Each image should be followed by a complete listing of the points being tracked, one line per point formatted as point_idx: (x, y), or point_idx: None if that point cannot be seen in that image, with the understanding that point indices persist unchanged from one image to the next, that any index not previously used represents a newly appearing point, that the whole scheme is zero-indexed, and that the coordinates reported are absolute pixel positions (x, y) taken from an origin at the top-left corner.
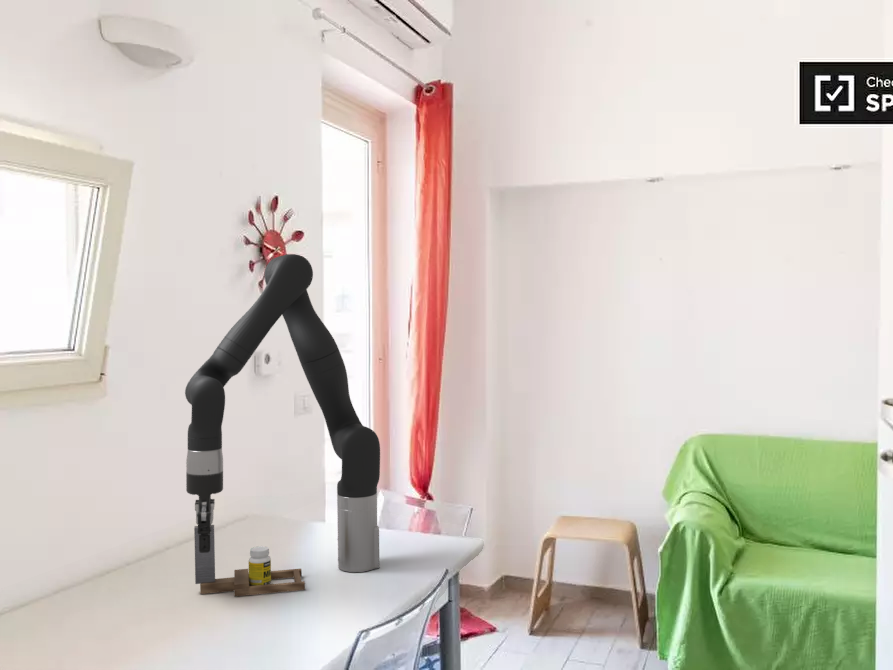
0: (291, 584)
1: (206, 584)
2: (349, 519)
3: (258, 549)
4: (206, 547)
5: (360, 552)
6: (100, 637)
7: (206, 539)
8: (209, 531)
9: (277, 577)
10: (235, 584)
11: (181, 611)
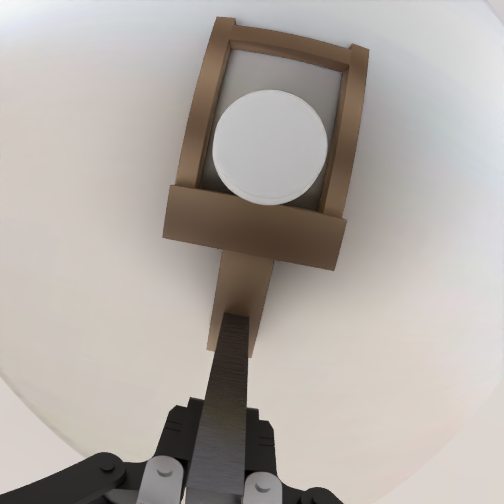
0: (365, 84)
1: (254, 341)
2: None
3: (285, 151)
4: (272, 436)
5: None
6: (370, 467)
7: (272, 466)
8: (338, 502)
9: (218, 92)
10: (334, 266)
11: (344, 385)
